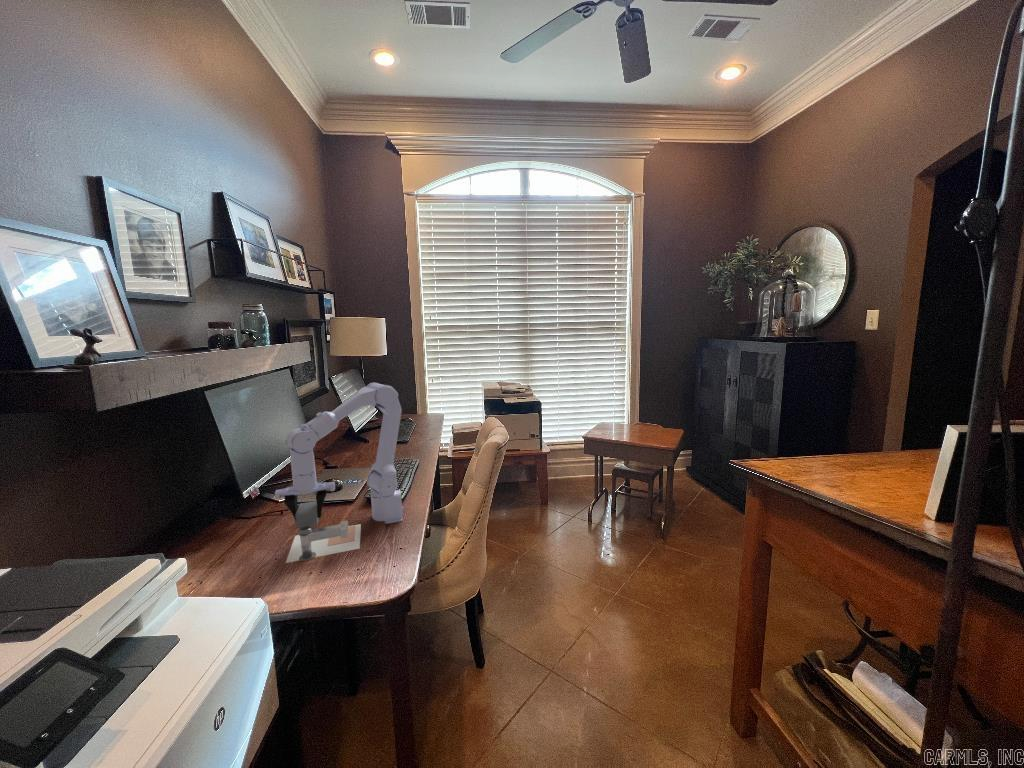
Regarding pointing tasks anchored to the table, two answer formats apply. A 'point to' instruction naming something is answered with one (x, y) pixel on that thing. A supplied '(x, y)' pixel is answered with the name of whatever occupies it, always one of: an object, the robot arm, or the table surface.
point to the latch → (320, 535)
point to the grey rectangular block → (307, 514)
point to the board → (327, 545)
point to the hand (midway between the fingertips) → (308, 518)
